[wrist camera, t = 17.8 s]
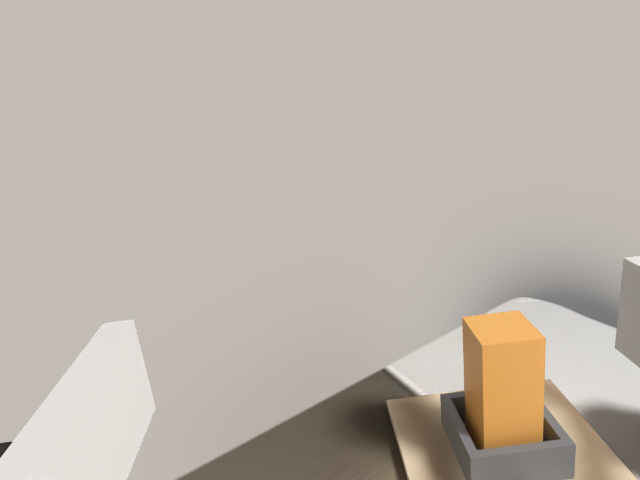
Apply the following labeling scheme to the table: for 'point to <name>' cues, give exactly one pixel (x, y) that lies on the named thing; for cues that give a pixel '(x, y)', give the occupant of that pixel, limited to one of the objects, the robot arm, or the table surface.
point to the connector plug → (503, 380)
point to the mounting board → (440, 460)
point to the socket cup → (508, 449)
